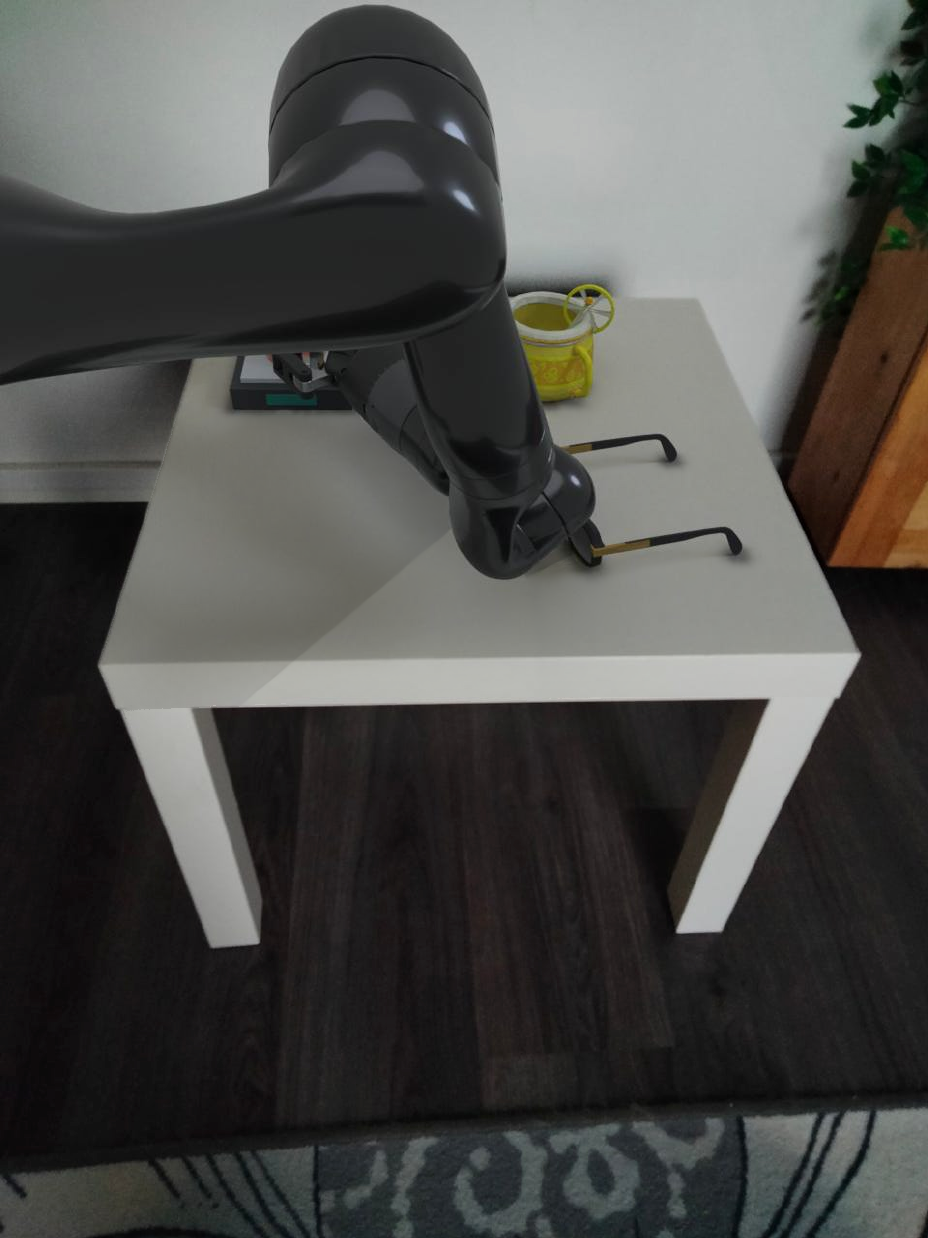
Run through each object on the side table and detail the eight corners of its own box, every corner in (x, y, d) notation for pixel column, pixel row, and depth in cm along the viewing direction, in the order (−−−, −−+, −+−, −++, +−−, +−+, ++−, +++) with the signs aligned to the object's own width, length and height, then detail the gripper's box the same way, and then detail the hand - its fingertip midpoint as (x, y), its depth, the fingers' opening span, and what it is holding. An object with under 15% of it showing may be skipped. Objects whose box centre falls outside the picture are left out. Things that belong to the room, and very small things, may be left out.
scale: (351, 410, 91) (350, 384, 89) (232, 409, 91) (228, 384, 88) (356, 348, 100) (354, 323, 97) (247, 347, 99) (243, 321, 97)
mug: (468, 374, 97) (473, 266, 88) (544, 344, 102) (556, 239, 93) (545, 431, 90) (559, 321, 81) (623, 397, 95) (644, 289, 86)
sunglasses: (740, 555, 79) (755, 511, 75) (577, 582, 75) (585, 538, 72) (674, 460, 88) (685, 416, 84) (526, 481, 85) (531, 437, 81)
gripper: (482, 337, 74) (386, 258, 83) (327, 384, 69) (242, 293, 78) (478, 414, 80) (388, 332, 89) (334, 463, 74) (254, 370, 83)
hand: (320, 314), depth 83 cm, fingers open, 8 cm apart
